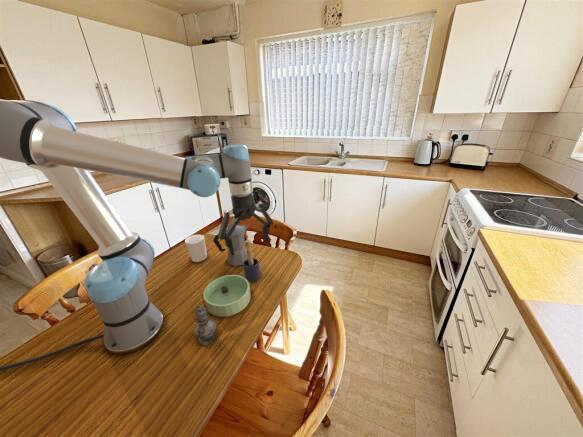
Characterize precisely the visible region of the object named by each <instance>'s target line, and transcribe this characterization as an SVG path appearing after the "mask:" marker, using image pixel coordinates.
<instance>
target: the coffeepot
mask: <svg viewBox="0 0 583 437" xmlns="http://www.w3.org/2000/svg"><path fill="white" fill-rule="evenodd" d="M228 227H229V226H227V228H228ZM248 228H249V227H248V226H247V225H238V224H237V226H236V228H235V229H234V231H233V233H232V234H231V236H230V238H231V239H232V245H233V251H234V255H231V253H230V251H229V247H227V264H228V265H230V266H233V267H237V266H243V262H244V261H245V260H246V259H248V257H247V250H246V246H245V235H246V234H245V233H246V231H247V229H248ZM226 230H227V229H226ZM218 234H219V233H217V234H216V235H215V236H214V237H213V243H214V244H215V245H216V247H217V248H218V250H219V252H221V253H222V252H225V251H226V248H223V246H222V245H221V244H220V241H219V240H220V238H219V237H218Z"/></svg>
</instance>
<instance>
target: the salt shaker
mask: <svg viewBox="0 0 583 437" xmlns="http://www.w3.org/2000/svg"><path fill="white" fill-rule="evenodd" d="M195 316H196V319H195V322H196V324H197V325H196V326H195V328H194V335H195V336H197V341H198V343H199V344H200V345H202V346H208V345H210V344H212V343H213V342H214V341H216V340H217V336H216V328H217V324H216V322H215V321H214V320H212V319H210V318H211V317H210V315H209V314H208V310H207V308H206V306H205V307H204V306H198V307H197V308H196V310H195Z"/></svg>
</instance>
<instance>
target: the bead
mask: <svg viewBox="0 0 583 437" xmlns="http://www.w3.org/2000/svg"><path fill="white" fill-rule="evenodd" d="M221 291H222V292H223V293H226V292H227V291H228V287H226V286H223V287H222V288H221Z"/></svg>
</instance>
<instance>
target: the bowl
mask: <svg viewBox="0 0 583 437" xmlns="http://www.w3.org/2000/svg"><path fill="white" fill-rule="evenodd" d="M223 286H226V287H228V291H227V292H226V293H223V292H222V291H221V288H222V287H223ZM251 294H252V293H251V287H250V281H248V280H247V279H245V276H242V275H240V274H227V275H226V274H225V275H222V276H220V277H217V278H215V279H214V280H212V281H211V282H209V283H208V284H207V285H206V286H205V288H204V290H203V294H202V296H203V300H204V305H205V308H206V311H207V312H209V314H211V315H213V316H214V317H215V316H216V317H222V318H223V317H230V316H235V315H236V314H238V313H240V312H242V311H243V310H244V309H245V308H246V307H248V305H249V303H250V301H251V297H252V295H251Z"/></svg>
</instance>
